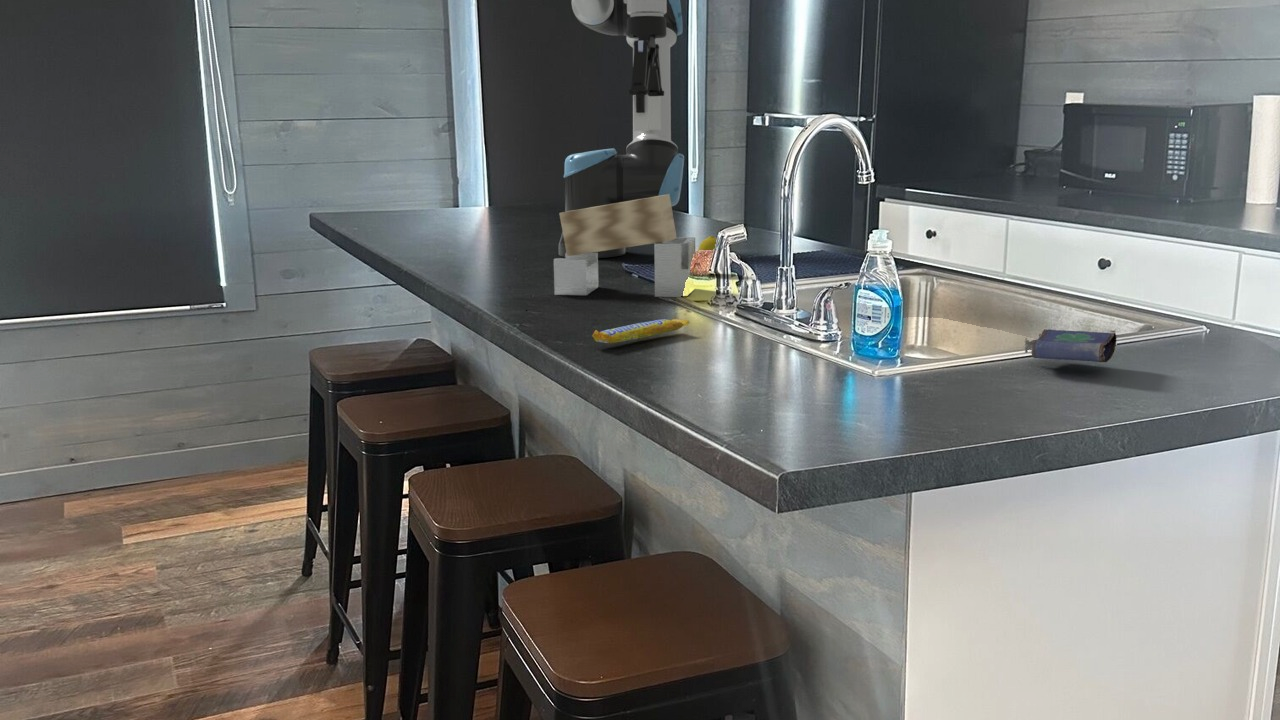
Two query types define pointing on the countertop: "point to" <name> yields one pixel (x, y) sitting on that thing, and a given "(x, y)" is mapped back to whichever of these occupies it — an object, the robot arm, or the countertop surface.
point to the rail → (618, 225)
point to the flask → (1073, 345)
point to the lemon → (708, 243)
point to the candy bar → (638, 330)
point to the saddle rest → (576, 274)
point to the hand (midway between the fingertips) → (647, 130)
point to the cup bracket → (672, 266)
